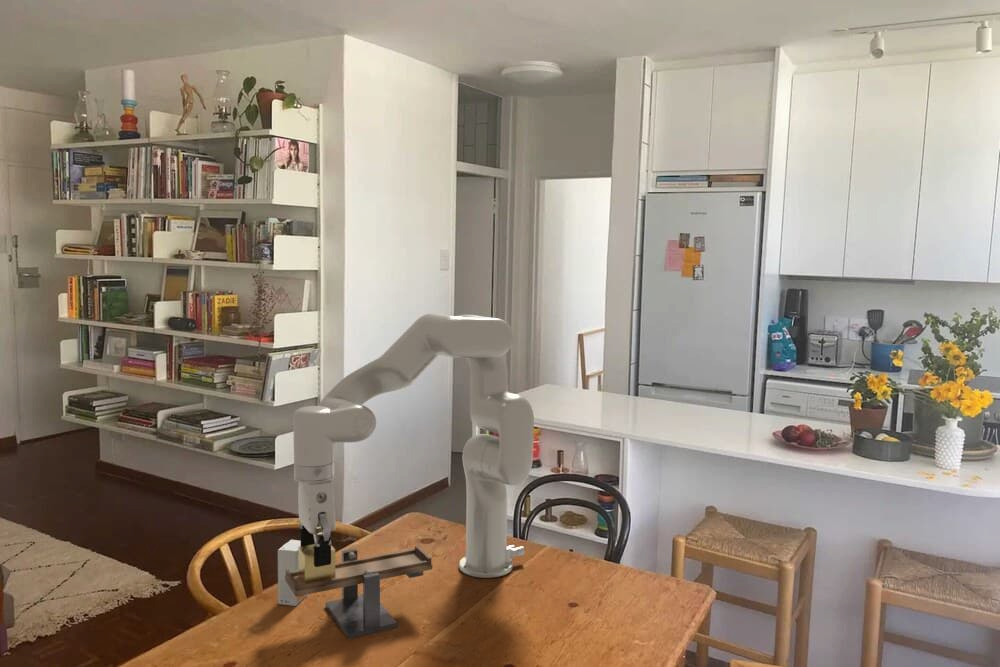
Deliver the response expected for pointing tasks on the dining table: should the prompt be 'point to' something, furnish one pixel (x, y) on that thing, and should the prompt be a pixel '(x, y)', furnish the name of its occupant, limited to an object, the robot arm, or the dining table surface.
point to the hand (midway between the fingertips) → (315, 556)
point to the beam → (365, 570)
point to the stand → (361, 607)
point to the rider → (309, 571)
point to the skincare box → (291, 563)
